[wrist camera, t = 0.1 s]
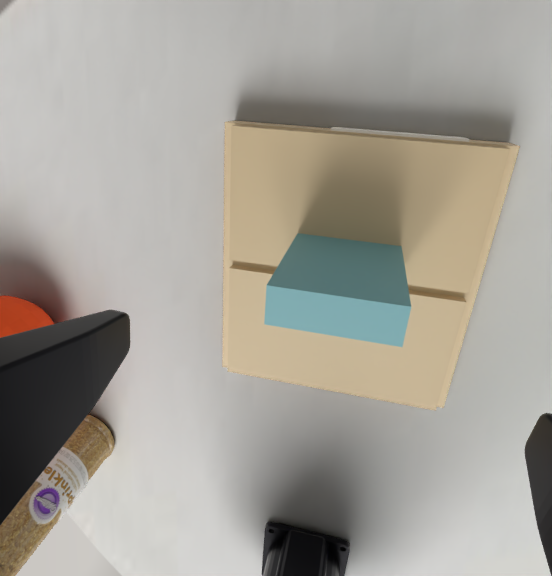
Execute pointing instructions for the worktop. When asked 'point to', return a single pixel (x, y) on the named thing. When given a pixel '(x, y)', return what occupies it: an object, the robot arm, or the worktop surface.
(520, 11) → the worktop surface
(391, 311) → the flap
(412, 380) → the carton
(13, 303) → the clementine
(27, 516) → the sprinkles bottle
